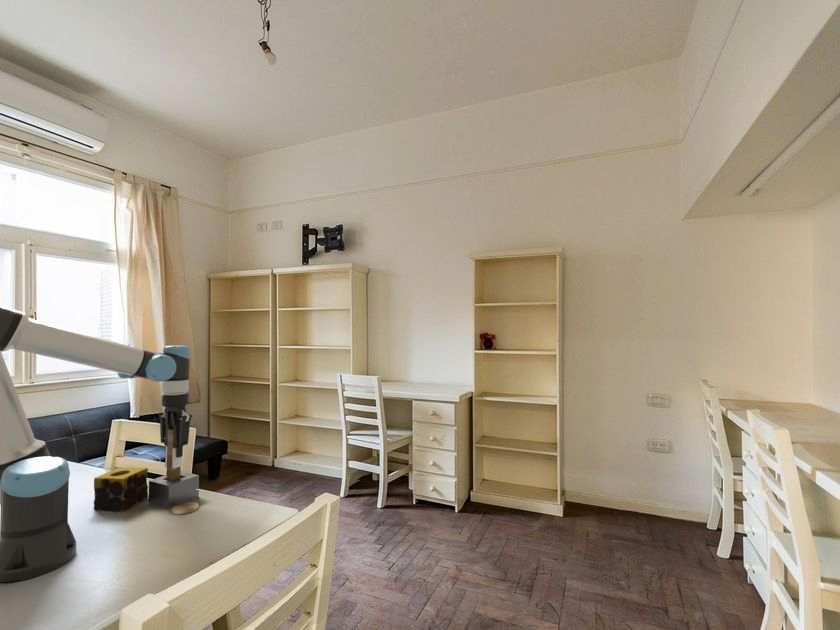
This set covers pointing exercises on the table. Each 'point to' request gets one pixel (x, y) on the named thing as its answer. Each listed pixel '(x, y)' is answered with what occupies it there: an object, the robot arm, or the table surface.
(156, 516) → the table surface
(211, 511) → the table surface
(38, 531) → the robot arm
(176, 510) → the coaster
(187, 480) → the box
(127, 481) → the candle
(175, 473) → the dowel
